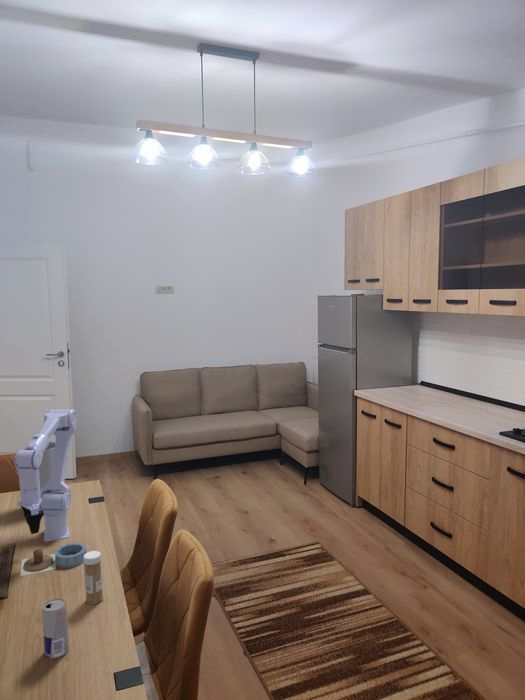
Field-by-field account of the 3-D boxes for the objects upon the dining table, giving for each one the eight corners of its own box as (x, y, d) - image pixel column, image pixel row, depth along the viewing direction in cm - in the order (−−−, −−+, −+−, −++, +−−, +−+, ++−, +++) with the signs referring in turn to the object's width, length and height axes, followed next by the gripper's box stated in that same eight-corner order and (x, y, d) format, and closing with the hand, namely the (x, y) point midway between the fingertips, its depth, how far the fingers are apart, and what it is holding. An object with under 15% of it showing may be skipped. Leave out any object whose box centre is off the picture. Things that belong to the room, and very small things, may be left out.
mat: (22, 560, 166) (21, 559, 166) (55, 554, 170) (55, 553, 170) (20, 576, 157) (20, 575, 157) (56, 569, 161) (56, 568, 161)
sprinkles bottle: (105, 601, 145) (102, 555, 143) (88, 607, 142) (85, 560, 140) (100, 593, 148) (98, 548, 147) (83, 598, 146) (81, 553, 144)
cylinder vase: (38, 501, 213) (34, 441, 209) (67, 502, 211) (64, 442, 208) (20, 514, 200) (16, 450, 197) (50, 516, 199) (47, 452, 195)
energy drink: (48, 644, 127) (45, 598, 126) (71, 643, 128) (68, 597, 126) (41, 660, 122) (38, 612, 121) (65, 658, 122) (62, 610, 121)
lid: (24, 560, 166) (23, 547, 165) (53, 555, 169) (52, 542, 168) (23, 574, 158) (22, 560, 158) (53, 568, 161) (52, 554, 161)
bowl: (55, 556, 169) (54, 546, 168) (85, 550, 172) (85, 540, 172) (56, 570, 160) (55, 559, 160) (87, 564, 164) (87, 553, 163)
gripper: (13, 482, 168) (16, 522, 170) (19, 497, 156) (22, 540, 158) (36, 477, 172) (39, 517, 174) (44, 492, 160) (47, 534, 162)
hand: (32, 528), depth 166 cm, fingers open, 7 cm apart
